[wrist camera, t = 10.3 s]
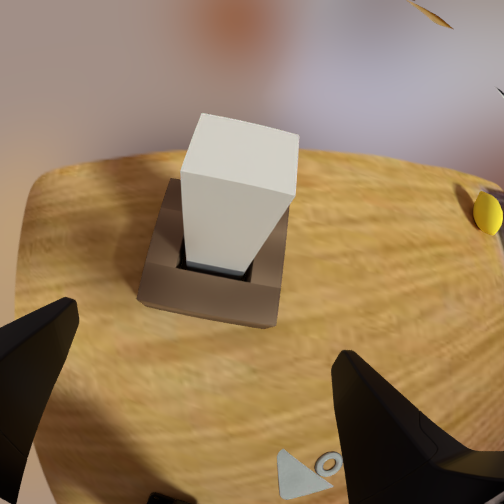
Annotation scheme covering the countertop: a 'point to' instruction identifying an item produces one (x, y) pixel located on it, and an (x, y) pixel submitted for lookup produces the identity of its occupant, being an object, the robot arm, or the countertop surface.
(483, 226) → the lemon
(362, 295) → the countertop surface
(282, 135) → the rail post
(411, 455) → the robot arm
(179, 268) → the post base
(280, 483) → the grey triangular pendant
